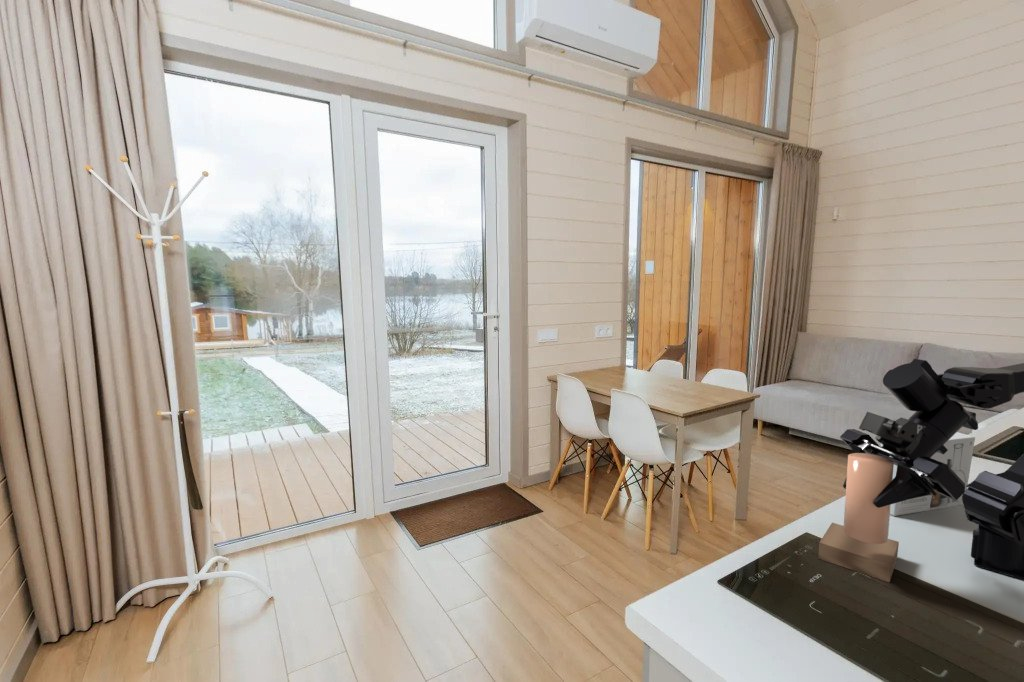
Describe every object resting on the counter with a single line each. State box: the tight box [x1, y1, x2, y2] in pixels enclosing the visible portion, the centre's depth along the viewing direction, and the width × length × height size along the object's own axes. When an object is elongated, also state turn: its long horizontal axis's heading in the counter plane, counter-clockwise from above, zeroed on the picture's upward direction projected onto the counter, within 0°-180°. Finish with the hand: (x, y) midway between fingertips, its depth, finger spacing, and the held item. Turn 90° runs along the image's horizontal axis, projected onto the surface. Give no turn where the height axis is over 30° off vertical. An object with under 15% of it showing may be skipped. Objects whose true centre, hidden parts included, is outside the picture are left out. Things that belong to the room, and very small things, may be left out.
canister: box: [843, 453, 894, 544], centre depth 79 cm, size 6×6×13 cm
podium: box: [817, 522, 900, 583], centre depth 85 cm, size 10×10×3 cm
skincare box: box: [879, 431, 976, 517], centre depth 104 cm, size 21×5×16 cm, turn 105°
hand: (859, 496), depth 79 cm, fingers closed on canister, 6 cm apart
